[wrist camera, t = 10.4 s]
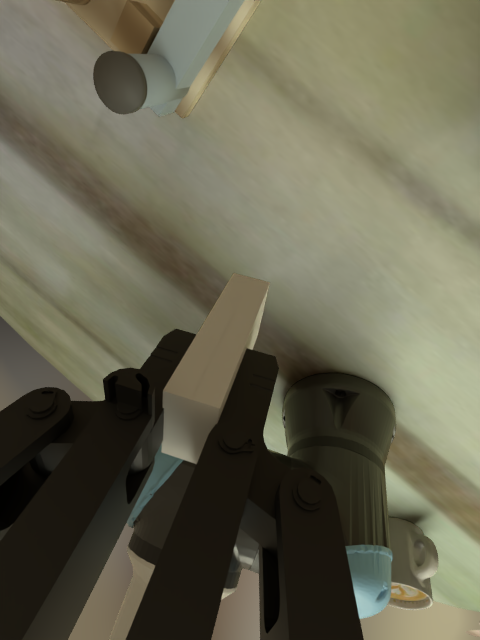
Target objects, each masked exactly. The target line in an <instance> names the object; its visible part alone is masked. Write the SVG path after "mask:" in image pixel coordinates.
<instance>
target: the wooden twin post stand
mask: <svg viewBox="0 0 480 640" xmlns="http://www.w3.org/2000/svg"><path fill="white" fill-rule="evenodd" d="M57 1H62V2H65V3H66V4H67V5H68V6H69V7H70V8H71V9H72V10H73V11H74V12H75V13H76V14H77V15H78V16H79V17H80V18H81V19H82V20H83V21H84V22H85V23H86V24H87V25H88V26H89V27H90V28H91V29H92V30H93V31H94V32H95V33H96V34H97V35H98V36H99V37H100V38H101V39H102V40H103V41H104V42H105V43H106V44H107V45H108V46H109V47H110V48H111V49H112V50H113V51H121V52H125V53H127V54H147V53H148V51H149V49H150V47H151V45H152V43H153V41H154V39H155V37H156V36H157V34H158V32H159V30H160V28H161V26H162V24H163V22H164V20H165V18H166V16H167V14H168V12H169V10H170V9H171V7H172V5H173V3H174V1H175V0H57ZM260 2H261V0H244V2H243V4H242V5H241V7H240V8H239V10H238V11H237V13H236V15H235V16H234V18H233V19H232V21H231V23H230V24H229V26H228V27H227V29H226V30H225V32H224V34H223V35H222V37H221V38H220V40H219V42H218V43H217V45H216V46H215V48H214V49H213V51H212V53H211V54H210V56H209V57H208V59H207V61H206V62H205V64H204V65H203V67H202V69H201V70H200V72H199V73H198V75H197V76H196V78H195V80H194V81H193V83H192V84H191V86H190V88H189V91H188V93H187V94H186V96H185V97H184V98H183V99H182V100H181V102H180V103H179V105H178V107H177V108H176V110H175V112H176V113H177V114H178V115H179V116H180V117H181V118H185V117H188V116H189V114H190V113H191V111H192V110H193V108H194V106H195V105H196V103H197V102H198V100H199V99H200V97H201V95H202V94H203V92H204V91H205V89H206V87H207V86H208V84H209V83H210V81H211V79H212V78H213V76H214V75H215V73H216V72H217V70H218V68H219V67H220V65H221V64H222V62H223V60H224V59H225V57H226V56H227V54H228V53H229V51H230V49H231V48H232V46H233V45H234V43H235V41H236V40H237V38H238V37H239V35H240V33H241V32H242V30H243V29H244V27H245V26H246V24H247V22H248V21H249V19H250V18H251V16H252V14H253V13H254V11H255V10H256V8H257V7H258V5H259V3H260Z"/></svg>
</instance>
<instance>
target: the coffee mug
mask: <svg viewBox="0 0 480 640" xmlns="http://www.w3.org/2000/svg"><path fill="white" fill-rule="evenodd" d="M388 521H389V534H390V547H391V551H392V554H393V559H392V561H391V596H390V600H389V602H388V604H387V605H389V606H393V607H396V608H401V609H407V610H422V609H426V608H429V607H430V606H432V604H433V598H432V591H431V584H430V577H431V576H433V575H434V574H435V573H436V571H437V569H438V553H437V550H436V547H435V545H434V543H433V542H432V540H431V539H429V538H428V537H426V536H424V534H423V532H422V530H421V529H420V528H419V527H418V526H416V525H414V524H413V523H411V522H408V521H406V520H403V519H399V518H394V517H388Z"/></svg>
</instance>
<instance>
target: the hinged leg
mask: <svg viewBox="0 0 480 640" xmlns="http://www.w3.org/2000/svg"><path fill="white" fill-rule="evenodd" d="M243 2H244V0H175V1H174V3H173V5H172V7H171V9H170V10H169V12H168V14H167V16H166V18H165V20H164V22H163V24H162V26H161V28H160V30H159V32H158V34H157V36H156V37H155V39H154V41H153V43H152V45H151V47H150V49H149V51H148V53H147V54H127V53H125V52H121V51H108V52H105V53H103V54H102V55H101V56H100V57H99V58H98V59H97V61H96V63H95V66H94V73H93V78H94V85H95V88H96V91H97V94H98V96H99V98H100V99H101V101H102V102H103V103H104V104H105V106H106V107H108V108H109V109H110V110H111V111H113V112H115V113H118V114H129V113H133V112H136V111H138V110H139V109H143V108H147V107H150V108H151V109H152V110H153V111H154V112H155V113H156V114H157V115H158V116H159V117H160V116H163V115H167V114H170V113H174V111H175V110H176V108H177V107H178V105H179V103H180V102H181V100H182V99H183V98H184V97H185V96H186V94H187V93H188V91H189V88H190V86H191V84H192V83H193V81H194V80H195V78H196V76H197V75H198V73H199V72H200V70H201V69H202V67H203V65H204V64H205V62H206V61H207V59H208V57H209V56H210V54H211V53H212V51H213V49H214V48H215V46H216V45H217V43H218V42H219V40H220V38H221V37H222V35H223V34H224V32H225V30H226V29H227V27H228V26H229V24H230V23H231V21H232V19H233V18H234V16H235V15H236V13H237V11H238V10H239V8H240V7H241V5H242V4H243Z"/></svg>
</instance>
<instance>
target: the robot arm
mask: <svg viewBox="0 0 480 640" xmlns="http://www.w3.org/2000/svg"><path fill="white" fill-rule="evenodd" d="M269 285H270V282H266V281H262V280H258V279H255V278H251V277H247V276H243V275H239V274H236V273H233V275H232V276H231V278H230V280H229V281H228V283H227V285H226V286H225V288H224V290H223V291H222V293H221V295H220V296H219V298H218V300H217V301H216V303H215V305H214V306H213V308H212V310H211V311H210V313H209V315H208V316H207V318H206V320H205V321H204V323H203V325H202V326H201V328H200V330H199V331H198V333H197V335H196V334H193V333H189V332H186V331H182V330H179V329H175V330H173V331H171V332H170V333H168V334H166V335H165V336H164V337H163V338H162V339H161V341H160V342H159V344H158V345H157V347H156V348H155V349H154V351H153V352H152V353H151V356H150V357H149V358H148V359H147V360H146V362H145V363H144V364H143V366H142V367H141V369H135V368H125V369H119V370H117V371H114V372H112V373H110V374H109V375H108V376H106V377H105V378H104V379H103V384H104V392H105V400H103V401H94V402H93V401H71V400H70V396H69V395H68V394H67V393H66V392H65V391H64V390H61V389H59V388H54V387H53V388H52V387H45V388H40V389H36V390H33V391H31V392H29V393H27V394H26V395H24V396H22V397H21V398H19V399H18V400H16V401H15V402H14V403H12V404H11V405H9V406H8V407H6V408H5V409H3V410H2V411H0V640H68V638H69V636H70V634H71V632H72V630H73V628H74V626H75V624H76V622H77V620H78V618H79V616H80V614H81V612H82V610H83V608H84V606H85V604H86V602H87V600H88V598H89V596H90V594H91V592H92V590H93V588H94V586H95V584H96V582H97V580H98V578H99V576H100V574H101V572H102V570H103V568H104V566H105V564H106V562H107V560H108V558H109V556H110V554H111V552H112V550H113V548H114V546H115V544H116V542H117V540H118V538H119V536H120V534H121V532H122V530H123V528H124V526H125V524H126V523H127V524H128V526H129V527H131V528H134V527H135V528H134V532H133V534H132V537H131V540H130V542H129V545H128V547H127V552H128V554H129V558H130V561H131V564H132V566H133V577H132V579H131V582H130V585H129V587H128V590H127V593H126V595H125V598H124V601H123V603H122V606H121V609H120V611H119V614H118V616H117V619H116V622H115V624H114V627H113V630H112V632H111V635H110V638H109V640H211V637H212V634H213V630H214V626H215V622H216V618H217V614H218V610H219V606H220V602H221V600H222V599H223V598H225V597H226V596H228V595H230V594H231V593H233V592H234V591H236V588H237V584H238V580H239V577H240V573H241V570H242V569H243V568H244V569H248V570H251V571H253V572H256V573H259V594H260V595H259V596H260V640H364V639H363V634H362V629H361V624H360V619H362V618H366V617H370V616H373V615H375V614H377V613H379V612H380V611H382V610H383V609H384V608H385V607H386V606H387V604H388V602H389V600H390V596H391V561H392V559H393V554H392V551H391V547H390V534H389V521H388V508H387V494H386V481H385V463H386V459H387V455H388V452H389V448H390V444H391V443H392V441H393V439H394V436H395V433H396V418H395V410H394V407H393V404H392V402H391V400H390V399H389V397H388V396H387V395H386V394H385V393H384V392H383V391H382V390H381V389H379V388H378V387H377V386H375V385H374V384H372V383H370V382H368V381H366V380H363V379H361V378H358V377H355V376H351V375H346V374H338V373H325V374H317V375H313V376H310V377H307V378H304V379H302V380H300V381H299V382H297V383H296V384H294V385H293V386H292V387H291V388H290V389H289V391H288V392H287V394H286V397H285V400H284V405H283V410H282V420H283V425H284V428H285V436H286V442H287V448H288V454H287V456H286V455H283V454H280V453H278V452H275V451H272V450H269V449H267V447H266V445H265V443H264V438H263V430H264V425H265V421H266V417H267V413H268V409H269V406H270V402H271V398H272V394H273V390H274V386H275V382H276V378H277V374H278V370H279V368H278V364H277V361H276V357H275V356H272V355H268V354H265V353H261V352H258V351H255V350H253V347H254V344H255V342H256V339H257V336H258V332H259V328H260V324H261V319H262V315H263V311H264V306H265V302H266V298H267V293H268V289H269Z"/></svg>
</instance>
